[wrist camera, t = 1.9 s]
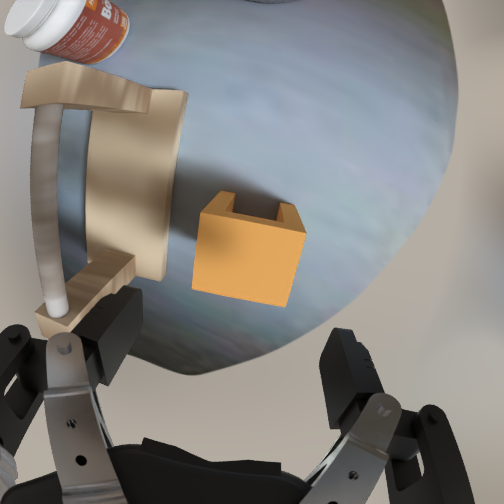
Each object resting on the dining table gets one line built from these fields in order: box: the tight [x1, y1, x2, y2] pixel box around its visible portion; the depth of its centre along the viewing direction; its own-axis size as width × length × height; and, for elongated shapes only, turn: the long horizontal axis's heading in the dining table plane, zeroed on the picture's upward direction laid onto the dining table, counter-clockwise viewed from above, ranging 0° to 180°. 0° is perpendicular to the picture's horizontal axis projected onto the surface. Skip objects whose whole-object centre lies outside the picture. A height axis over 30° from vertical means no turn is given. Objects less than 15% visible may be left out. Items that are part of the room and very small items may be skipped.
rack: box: [20, 61, 188, 339], centre depth 16 cm, size 16×8×12 cm, turn 169°
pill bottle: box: [4, 0, 130, 64], centre depth 11 cm, size 6×6×11 cm
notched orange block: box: [192, 191, 307, 307], centre depth 19 cm, size 5×6×7 cm
